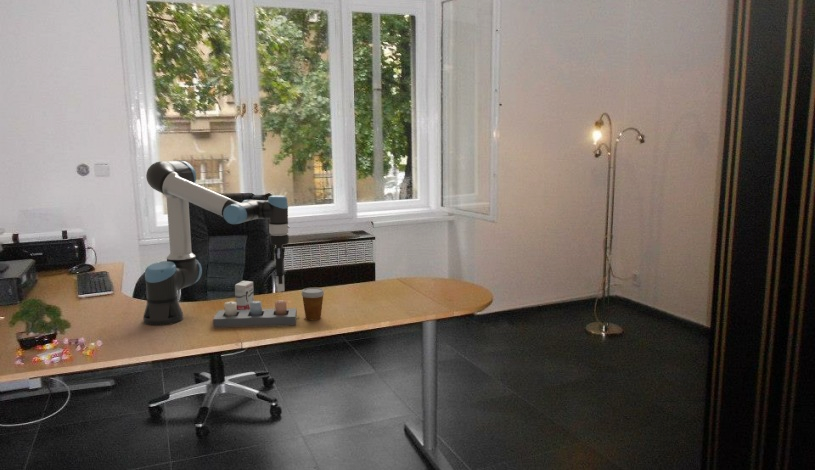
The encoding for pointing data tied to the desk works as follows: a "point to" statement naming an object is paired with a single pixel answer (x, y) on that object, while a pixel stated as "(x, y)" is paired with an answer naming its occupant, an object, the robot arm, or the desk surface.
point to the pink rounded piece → (280, 307)
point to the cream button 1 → (230, 309)
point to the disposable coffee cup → (312, 302)
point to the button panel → (255, 318)
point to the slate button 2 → (256, 308)
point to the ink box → (244, 295)
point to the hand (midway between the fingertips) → (280, 290)
